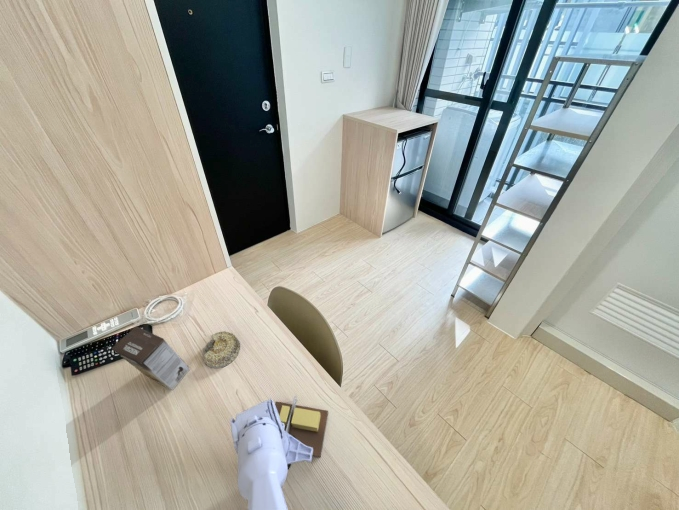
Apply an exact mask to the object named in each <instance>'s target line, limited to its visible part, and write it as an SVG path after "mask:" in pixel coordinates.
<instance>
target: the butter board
mask: <svg viewBox="0 0 679 510" xmlns="http://www.w3.org/2000/svg"><path fill="white" fill-rule="evenodd" d="M274 403H275V406H276V408H277V411H278V414H279V415H280V412H281V408H282V405H283V406H289V407H290V409H291V408H292V405H293V403H288V402H287V403H286V402H281V401H274ZM295 408H300V409H306V410H312V411H317V412H320V415H321V417H320V423H319V428H318V432H317V431H311V430H306V429H301V428H295V427H293V426H292V424H291V426H290V430H289V434H291V435H294V436H295V437H296V439H297V440H298V441H300V442H301V443H303V444H304V445H306V446H308V447H312V448H313V455H312V457H316V458H321V457H322V452H323V445H324V440H325V435H326V428H327V423H328V416H329V410H326V409H320V408H314V407H309V406H303V405H297V404H296V406H295ZM286 428H287V426H285V428H284V431H286Z"/></svg>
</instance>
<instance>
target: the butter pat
mask: <svg viewBox="0 0 679 510" xmlns="http://www.w3.org/2000/svg"><path fill="white" fill-rule="evenodd" d="M290 412H291V409H290V407H289V406H283V405H282V408H281V412H280V415H279V417H280V420H281V423H284V425H285V426H287V424H288V420H289V416H290Z"/></svg>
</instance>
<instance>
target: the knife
mask: <svg viewBox="0 0 679 510" xmlns="http://www.w3.org/2000/svg"><path fill="white" fill-rule="evenodd" d="M297 403H298V398H297V396H296V395H294V397H293V401H292V404H293V405H292V408H291V412H290V416H289V420H288V424H287V428H286V432H287V433H288V434H289V430H290V426H291V421H292V417H293V413H294V409H295V406H296V405H297Z"/></svg>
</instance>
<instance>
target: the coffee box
mask: <svg viewBox="0 0 679 510" xmlns="http://www.w3.org/2000/svg"><path fill="white" fill-rule="evenodd" d="M111 350H112V351H114V352H115V353H116V354H117V355H119V357H121V358H122V359H123V360H125V361H126V362H128V363H129V364H130V365H131V366H132V367H134V368H135V369H136V370H138V371H139V372H140V373H141V374H143V375H144V376H145V377H146V378H148V379H150V380H151V381H154V382H156V383H157V384H159V385H161V386H163V387H165V388H167V389H169V390H170V391H173V390H174V389H175V388H176V387H177V386H178V385H179V383H180V382H181V381H182V380H183V378H184V377H185V376H186V375H187V374H188V373H189V371H190V370H191V368H190V366H188V364H187V363H186V362H185V361H184V360H183V359H182V358H181V356H180V355H179V354H178V353H177V352H176V351H175V349H173V347H172V346H171V344H169V343H168V342H167V341H166V339H165V338H163V337H161V336H159V335H156V334H154V333H152V332H151V331H148V330H145V329H143V328H141V327H139V326H135V327H134V328H132V329H131V330H130V331H129V332H128V333H127V334H125V336H123V337H122V338H121V339H119V341H118V342H117V343H115V344H114V346H113V347H112V348H111Z"/></svg>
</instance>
